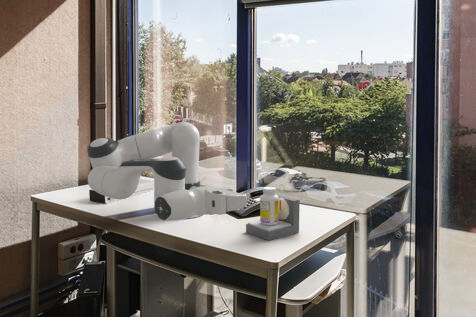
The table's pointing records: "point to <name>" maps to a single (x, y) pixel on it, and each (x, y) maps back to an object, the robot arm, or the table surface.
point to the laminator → (142, 188)
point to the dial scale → (286, 221)
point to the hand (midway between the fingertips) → (240, 193)
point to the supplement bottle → (269, 207)
